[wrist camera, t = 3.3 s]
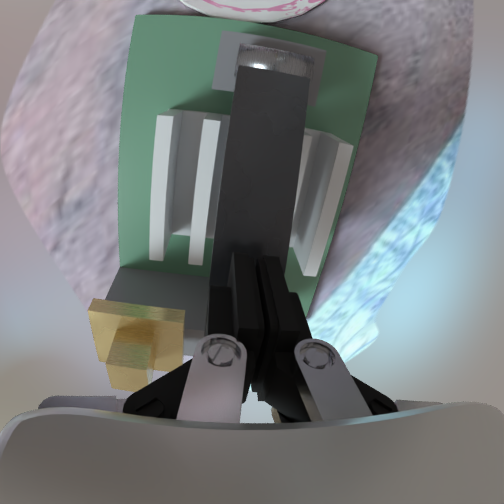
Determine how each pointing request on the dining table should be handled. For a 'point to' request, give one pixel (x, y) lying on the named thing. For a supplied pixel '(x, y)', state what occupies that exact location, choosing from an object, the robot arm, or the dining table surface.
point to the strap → (261, 157)
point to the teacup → (252, 9)
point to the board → (220, 156)
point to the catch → (136, 341)
